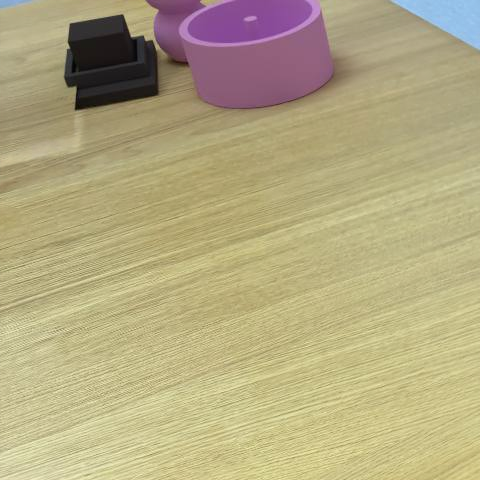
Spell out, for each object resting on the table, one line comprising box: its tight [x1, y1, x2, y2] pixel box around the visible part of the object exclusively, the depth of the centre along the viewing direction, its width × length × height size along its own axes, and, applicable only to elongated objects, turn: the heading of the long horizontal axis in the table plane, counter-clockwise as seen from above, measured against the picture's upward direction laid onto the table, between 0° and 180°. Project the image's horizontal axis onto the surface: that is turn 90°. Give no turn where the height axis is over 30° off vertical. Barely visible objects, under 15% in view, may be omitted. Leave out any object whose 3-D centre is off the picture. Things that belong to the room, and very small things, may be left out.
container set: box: [144, 0, 335, 109], centre depth 115 cm, size 25×15×13 cm, turn 49°
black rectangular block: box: [67, 13, 137, 72], centre depth 118 cm, size 6×6×4 cm
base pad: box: [63, 34, 160, 111], centre depth 120 cm, size 10×14×3 cm
